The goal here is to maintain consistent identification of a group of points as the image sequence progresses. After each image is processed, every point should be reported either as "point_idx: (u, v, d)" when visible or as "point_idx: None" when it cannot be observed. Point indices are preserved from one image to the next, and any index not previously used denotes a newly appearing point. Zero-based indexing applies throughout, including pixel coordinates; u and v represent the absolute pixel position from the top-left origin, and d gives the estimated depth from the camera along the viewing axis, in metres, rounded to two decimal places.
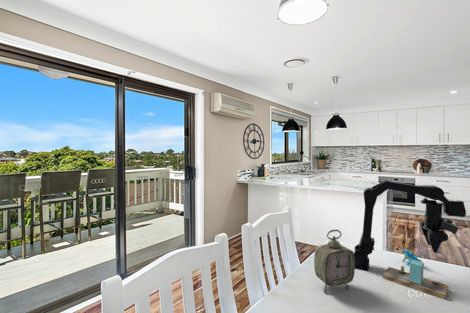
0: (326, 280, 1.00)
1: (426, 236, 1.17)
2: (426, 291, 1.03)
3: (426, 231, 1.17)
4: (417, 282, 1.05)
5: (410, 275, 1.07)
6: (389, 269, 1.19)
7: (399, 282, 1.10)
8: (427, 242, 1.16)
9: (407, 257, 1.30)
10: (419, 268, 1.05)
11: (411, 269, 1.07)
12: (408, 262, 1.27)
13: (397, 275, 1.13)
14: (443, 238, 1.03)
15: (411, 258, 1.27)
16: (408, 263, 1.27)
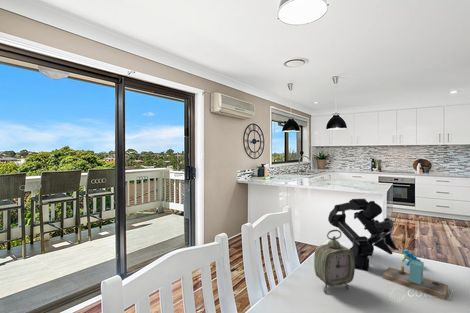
0: (326, 280, 1.00)
1: (387, 243, 1.19)
2: (426, 291, 1.03)
3: None
4: (417, 282, 1.05)
5: (410, 275, 1.07)
6: (389, 269, 1.19)
7: (399, 282, 1.10)
8: None
9: (407, 257, 1.30)
10: (419, 268, 1.05)
11: (411, 269, 1.07)
12: (408, 262, 1.27)
13: (397, 275, 1.13)
14: (376, 239, 1.10)
15: (411, 258, 1.27)
16: (408, 263, 1.27)
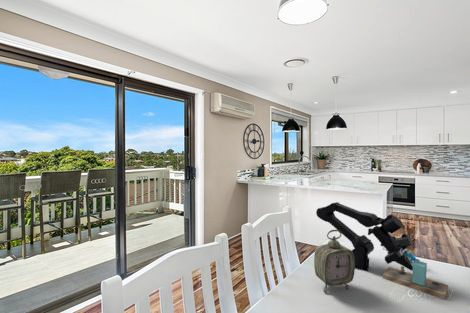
0: (326, 280, 1.00)
1: None
2: (426, 291, 1.03)
3: None
4: (420, 283, 1.05)
5: (413, 276, 1.06)
6: (389, 269, 1.19)
7: (399, 282, 1.10)
8: (409, 268, 1.09)
9: None
10: (422, 269, 1.04)
11: (414, 270, 1.06)
12: None
13: (397, 275, 1.13)
14: (395, 258, 1.05)
15: (410, 258, 1.27)
16: None
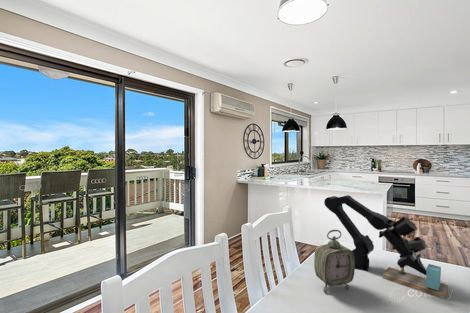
0: (326, 280, 1.00)
1: None
2: (426, 291, 1.03)
3: None
4: (434, 288, 1.01)
5: (427, 280, 1.03)
6: (389, 269, 1.19)
7: (399, 282, 1.10)
8: (422, 272, 1.06)
9: None
10: (437, 273, 1.01)
11: (428, 274, 1.03)
12: None
13: (397, 275, 1.13)
14: (408, 262, 1.02)
15: None
16: None
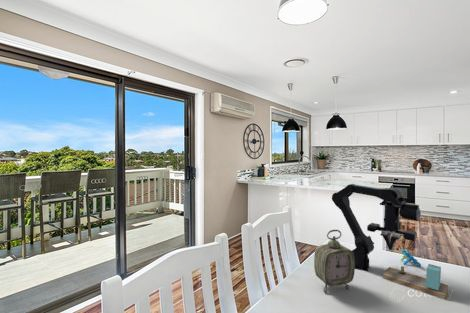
0: (326, 280, 1.00)
1: (389, 242, 1.14)
2: (426, 291, 1.03)
3: (388, 237, 1.14)
4: (434, 288, 1.01)
5: (427, 280, 1.03)
6: (389, 269, 1.19)
7: (399, 282, 1.10)
8: (390, 247, 1.14)
9: (405, 257, 1.30)
10: (437, 273, 1.01)
11: (428, 274, 1.03)
12: (405, 261, 1.28)
13: (397, 275, 1.13)
14: (416, 237, 1.09)
15: (408, 258, 1.28)
16: (405, 262, 1.27)
